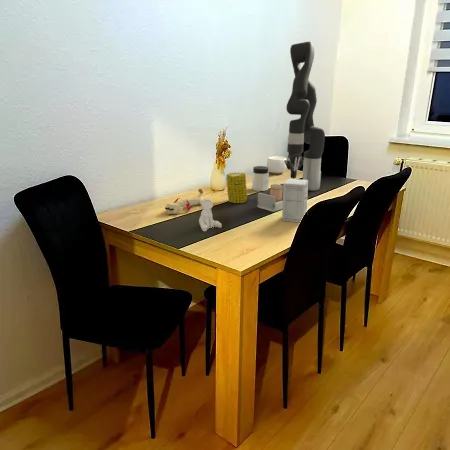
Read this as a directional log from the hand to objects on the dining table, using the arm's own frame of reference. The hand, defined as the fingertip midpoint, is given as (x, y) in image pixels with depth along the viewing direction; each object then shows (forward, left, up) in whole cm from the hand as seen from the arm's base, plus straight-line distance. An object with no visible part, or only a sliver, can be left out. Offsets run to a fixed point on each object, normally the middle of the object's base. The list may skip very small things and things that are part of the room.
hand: (293, 178), depth 222 cm
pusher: (+6, +1, -10) cm, 12 cm away
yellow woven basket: (+21, -18, -12) cm, 30 cm away
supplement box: (+22, +19, -12) cm, 31 cm away
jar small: (+13, +1, -11) cm, 17 cm away
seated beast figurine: (+57, +1, -12) cm, 58 cm away
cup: (-42, -46, -12) cm, 64 cm away
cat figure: (+47, -25, -12) cm, 55 cm away
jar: (-5, -26, -12) cm, 29 cm away
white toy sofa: (+12, +1, -12) cm, 17 cm away
